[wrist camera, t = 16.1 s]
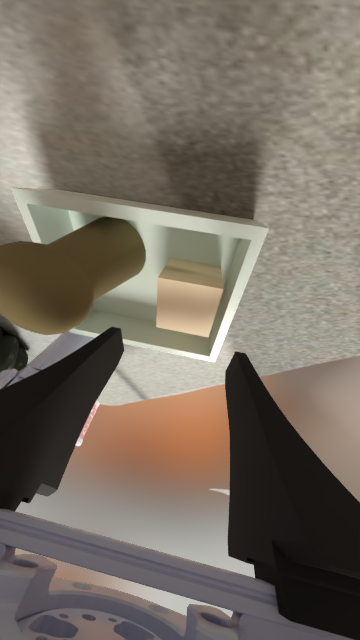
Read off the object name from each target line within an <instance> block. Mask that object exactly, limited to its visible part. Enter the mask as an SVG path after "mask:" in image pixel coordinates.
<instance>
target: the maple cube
mask: <svg viewBox="0 0 360 640" xmlns="http://www.w3.org/2000/svg"><path fill="white" fill-rule="evenodd" d="M222 292H223V281H222V272H221V266H215V265H209V264H203V263H198V262H192V261H186V260H180V259H174V258H171V259H170V260H169V262H168V263H167V265H166V266H165V268H164V269H163V271H162V272H161V273H160V275H159V276H158V287H157V317H156V327H158V328H163V329H168V330H173V331H178V332H183V333H189V334H194V335H199V336H204V337H209V334H210V331H211V328H212V324H213V321H214V318H215V315H216V312H217V308H218V305H219V302H220V299H221V296H222Z"/></svg>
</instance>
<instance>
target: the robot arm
mask: <svg viewBox="0 0 360 640" xmlns="http://www.w3.org/2000/svg"><path fill="white" fill-rule="evenodd" d="M123 352H124V346H123V339H122V332H121V328H116V327H110V328H109V329H107V330H106V331H104V332H103V333H101V334H100V335H98V336H97V337H96V338H94V337H89V336H84V335H80V334H75V333H70V332H69V330H68V331H66V332H64V333H62V334H61V335H60V336H59V337H58V338H57V339H56V340H55V341H54V342H52V343H51V344H50V345H49V346H48V347H47V348H46V349H45V350H44V351H42V352H41V353H40V354H39V355H38V356H37V357H36V358H35V359H34V360H33V361H31V362H30V363H29V364H28V365H27V366H26V367H25V368H24V369H22V370H20V371H19V372H18V371H17V370H16V369H11V370H3V371H2V372H0V640H360V502H359V501H357V499H356V498H354V496H353V495H352V494H351V493H350V492H349V491H348V490H347V489H346V488H345V487H344V486H343V485H342V484H341V482H340V481H339V480H338V479H337V478H336V477H335V476H334V475H333V474H332V473H331V472H330V470H329V469H328V468H327V467H326V466H325V465H324V464H323V463H322V461H321V460H320V459H319V458H318V457H317V455H316V454H315V453H314V452H313V451H312V450H311V448H310V447H309V446H308V445H307V444H306V443H305V441H304V440H303V439H302V438H301V437H300V435H299V434H298V433H297V431H296V430H295V429H294V428H293V426H292V425H291V424H290V423H289V421H288V420H287V418H286V417H285V416H284V414H283V413H282V412H281V410H280V409H279V407H278V406H277V404H276V403H275V401H274V400H273V398H272V397H271V395H270V394H269V392H268V391H267V389H266V388H265V386H264V384H263V383H262V381H261V379H260V378H259V376H258V374H257V372H256V371H255V369H254V367H253V365H252V364H251V362H250V360H249V358H248V357H247V355H246V354H245V353H240V352H235V354H234V356H233V358H232V360H231V362H230V364H229V366H228V368H227V370H226V376H225V389H226V400H227V409H228V418H229V429H230V502H229V527H228V554H229V556H230V557H233V558H236V559H238V560H241V561H243V562H246V563H250V564H253V565H254V570H255V578H253V577H249V576H245V575H242V574H238V573H235V572H231V571H228V570H224V569H220V568H216V567H213V566H210V565H206V564H202V563H199V562H195V561H192V560H188V559H184V558H180V557H177V556H173V555H170V554H166V553H163V552H159V551H155V550H152V549H148V548H145V547H141V546H137V545H134V544H130V543H127V542H123V541H119V540H116V539H112V538H108V537H105V536H101V535H98V534H94V533H91V532H87V531H83V530H80V529H76V528H72V527H69V526H65V525H62V524H58V523H54V522H51V521H47V520H44V519H40V518H36V517H33V516H29V515H26V514H22V513H18V512H15V510H16V509H17V507H18V506H19V504H20V502H21V501H22V502H26V503H30V502H31V500H32V499H33V497H34V495H35V493H37V494H40V495H44V496H49V495H51V494H52V493H54V492H55V491H56V490H57V489H58V487H59V484H60V482H61V479H62V477H63V474H64V472H65V469H66V466H67V464H68V462H69V459H70V457H71V454H72V452H73V450H74V447H75V445H76V443H77V440H78V438H79V436H80V434H81V432H82V429H83V427H84V425H85V423H86V421H87V419H88V416H89V414H90V412H91V410H92V408H93V406H94V404H95V402H96V400H97V399H98V397H99V395H100V393H101V392H102V390H103V388H104V387H105V385H106V384H107V382H108V380H109V379H110V377H111V375H112V374H113V372H114V370H115V368H116V367H117V365H118V363H119V361H120V359H121V356H122V354H123ZM16 548H19V549H22V550H25V551H29V552H32V553H36V554H39V555H35V554H23V555H22V554H21V555H15V549H16ZM40 555H43V556H46V557H50V558H53V559H56V560H60V561H63V562H67V563H70V564H74V565H77V566H81V567H84V568H87V569H91V570H94V571H98V572H101V573H104V574H108V575H112V576H115V577H118V578H122V579H125V580H129V581H132V582H136V583H139V584H142V585H146V586H149V587H153V588H156V589H160V590H163V591H167V592H170V593H173V594H177V595H180V596H184V597H187V598H191V599H194V600H197V601H201V602H205V603H208V604H211V605H215V606H218V607H222V608H225V609H228V610H232V611H233V615H232V617H231V618H230V617H229V616H228V615H226V614H225V613H224V612H222V611H221V610H219V609H217V608H214V607H211V606H205V605H194V604H189V606H188V607H187V616H185V615H182V614H180V613H177V612H175V611H173V610H170V609H168V608H165V607H162V606H160V605H157V604H155V603H153V602H150V601H148V600H145V599H142V598H140V597H137V596H134V595H131V594H128V593H124V592H121V591H118V590H114V589H110V588H106V587H102V586H97V585H93V584H87V583H82V582H77V581H72V580H66V579H62V578H57V577H53V576H54V573H55V571H56V568H57V565H56V564H55V563H53V562H52V561H50V560H49V559H47V558H45V557H43V556H40Z"/></svg>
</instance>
